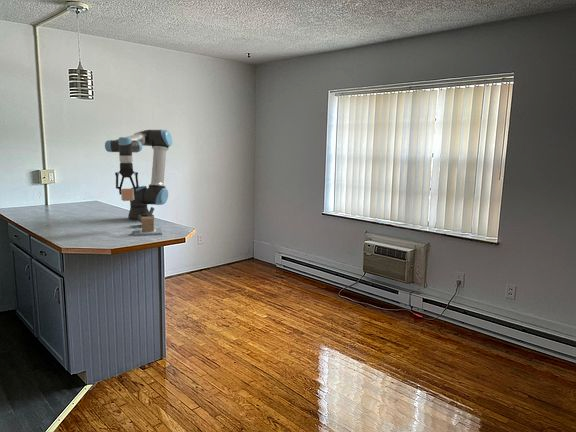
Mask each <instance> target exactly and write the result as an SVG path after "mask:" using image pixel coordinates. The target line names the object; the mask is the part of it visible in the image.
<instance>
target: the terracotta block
mask: <svg viewBox="0 0 576 432" xmlns="http://www.w3.org/2000/svg"><path fill="white" fill-rule="evenodd" d="M131 188H132V189H133V187H131ZM121 189H122V198H123V200H122V202H130V201H133V190H132V189H130V188H121ZM122 198H121V199H122Z"/></svg>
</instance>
